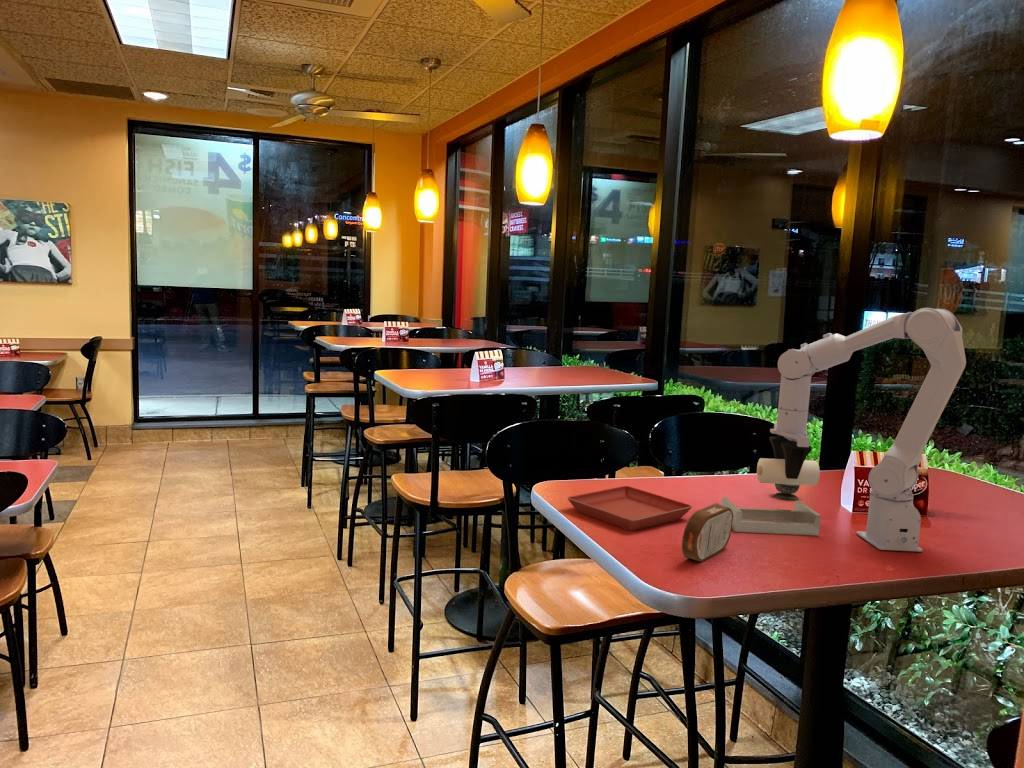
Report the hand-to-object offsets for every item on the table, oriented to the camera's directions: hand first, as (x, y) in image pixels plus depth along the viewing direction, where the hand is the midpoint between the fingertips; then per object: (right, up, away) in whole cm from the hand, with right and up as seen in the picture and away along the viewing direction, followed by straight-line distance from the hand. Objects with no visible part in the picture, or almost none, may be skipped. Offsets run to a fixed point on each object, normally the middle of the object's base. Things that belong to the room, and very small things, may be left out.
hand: (786, 475), depth 156 cm
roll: (0, -2, 0) cm, 2 cm away
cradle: (-6, -9, -5) cm, 12 cm away
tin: (-22, -11, -24) cm, 35 cm away
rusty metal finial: (+6, -7, +18) cm, 20 cm away
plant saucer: (-33, -8, -3) cm, 34 cm away
